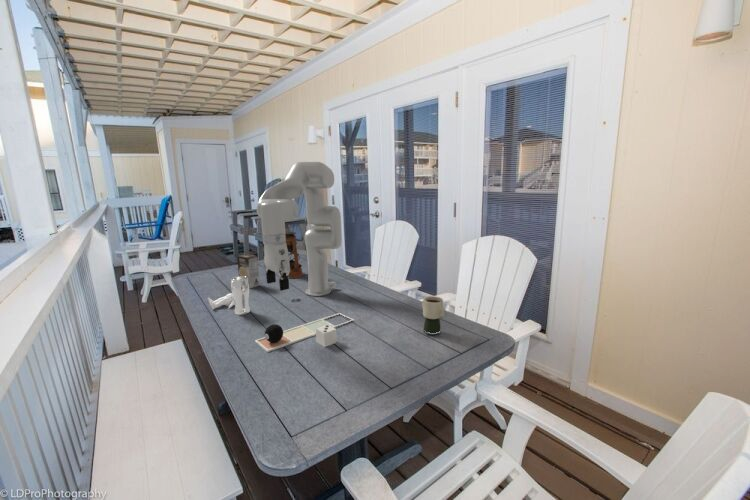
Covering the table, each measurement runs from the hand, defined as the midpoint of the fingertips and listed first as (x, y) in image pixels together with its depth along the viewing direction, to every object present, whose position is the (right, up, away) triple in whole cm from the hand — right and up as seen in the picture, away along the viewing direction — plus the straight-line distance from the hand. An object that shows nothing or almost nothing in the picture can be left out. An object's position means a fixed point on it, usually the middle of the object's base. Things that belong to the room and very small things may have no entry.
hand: (277, 286), depth 121 cm
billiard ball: (-1, -19, -2) cm, 19 cm away
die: (+17, -19, -2) cm, 26 cm away
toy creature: (-33, -12, +32) cm, 48 cm away
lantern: (-14, -2, +78) cm, 79 cm away
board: (+9, -17, +7) cm, 21 cm away
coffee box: (-32, -6, +59) cm, 68 cm away
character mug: (+55, -18, +6) cm, 58 cm away
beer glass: (-22, -14, +24) cm, 36 cm away
